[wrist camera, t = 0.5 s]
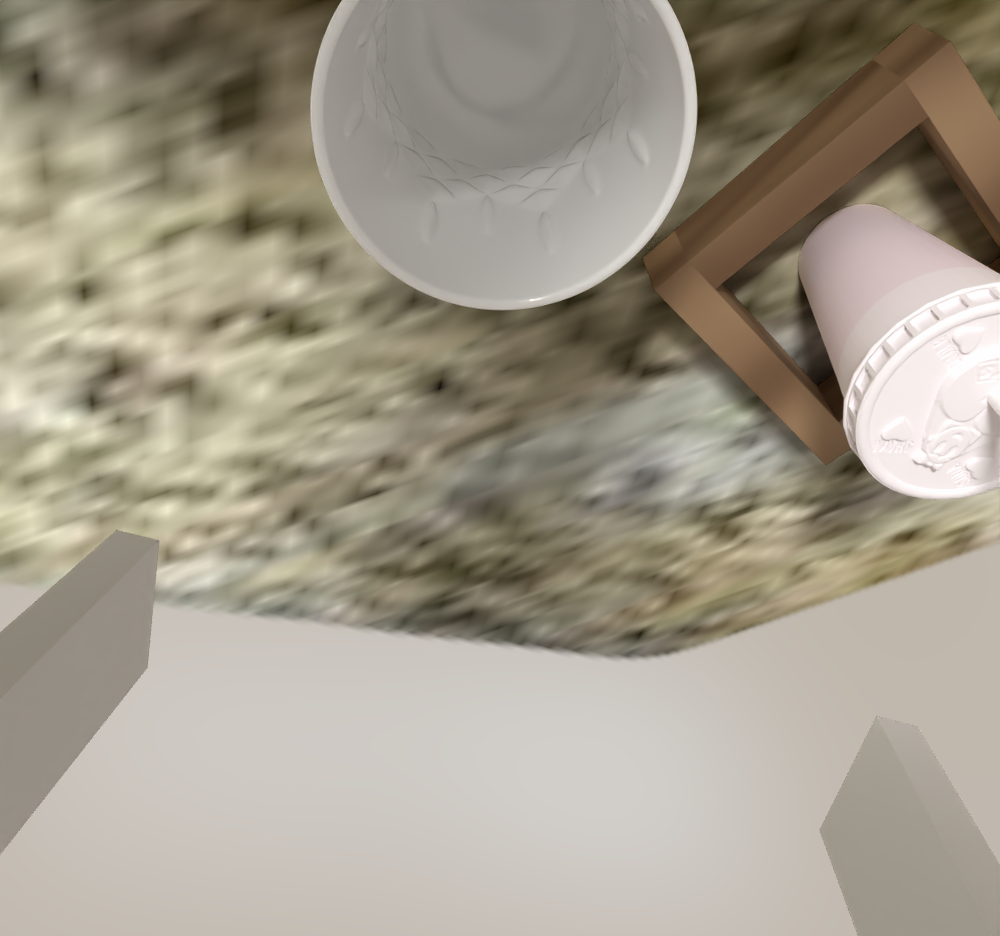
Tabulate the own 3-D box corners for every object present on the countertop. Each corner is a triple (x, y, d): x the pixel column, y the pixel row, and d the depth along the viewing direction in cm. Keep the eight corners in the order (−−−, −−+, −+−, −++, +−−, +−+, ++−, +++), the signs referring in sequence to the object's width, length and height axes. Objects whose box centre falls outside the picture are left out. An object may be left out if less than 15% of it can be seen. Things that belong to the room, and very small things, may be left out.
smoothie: (987, 212, 29) (1301, 462, 18) (862, 360, 32) (1060, 646, 21) (838, 130, 27) (1084, 352, 16) (723, 296, 31) (860, 571, 20)
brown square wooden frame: (642, 258, 30) (654, 290, 28) (913, 22, 25) (950, 41, 23) (805, 427, 34) (825, 465, 32) (1059, 253, 30) (1100, 285, 28)
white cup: (493, -204, 22) (501, -211, 14) (683, 31, 25) (775, 132, 17) (308, 37, 25) (231, 142, 17) (498, 216, 29) (506, 371, 21)
